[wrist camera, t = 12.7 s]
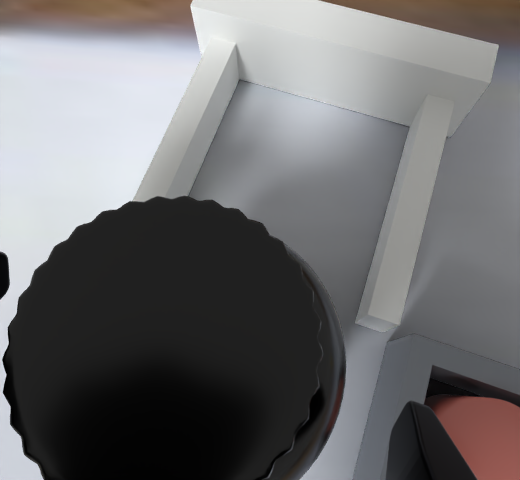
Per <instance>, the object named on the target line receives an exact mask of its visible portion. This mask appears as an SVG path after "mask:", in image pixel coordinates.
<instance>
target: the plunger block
mask: <svg viewBox="0 0 520 480" xmlns="http://www.w3.org/2000/svg"><path fill="white" fill-rule="evenodd" d="M429 378H432V379H435V380H437V381H440V382H443V383H446V384H449V385H452V386H455V387H457V388H460V389H463V390H466V391H469V392H472V393H474V394H477V395H480V396H483V397H486V398H495V399H500V400H504V401H507V402H510V403H512V404H514V405H516V406H518V407H520V369H517V368H514V367H511V366H508V365H506V364H503V363H500V362H497V361H494V360H491V359H488V358H485V357H482V356H479V355H476V354H473V353H470V352H467V351H464V350H461V349H458V348H456V347H453V346H450V345H447V344H444V343H441V342H438V341H435V340H432V339H429V338H426V337H423V336H420V335H417V334H411V335H408V336H405V337H402V338H399V339H396V340H393V341H390V342H387V345H386V349H385V353H384V357H383V361H382V365H381V369H380V372H379V376H378V380H377V384H376V388H375V392H374V396H373V400H372V404H371V408H370V412H369V416H368V420H367V424H366V428H365V432H364V436H363V440H362V444H361V448H360V452H359V456H358V459H357V463H356V467H355V471H354V475H353V479H352V480H385V478H386V468H387V459H388V449H389V440H390V434H391V431H392V428H393V426H394V424H395V422H396V420H397V419H398V417H399V415H400V413H401V411H402V410H403V408H404V406H405V404H406V403H407V402H408V401H411V400H412V401H415V402H418V403H421V404H424V401H425V397H426V392H427V388H428V383H429Z"/></svg>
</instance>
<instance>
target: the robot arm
mask: <svg viewBox="0 0 520 480" xmlns="http://www.w3.org/2000/svg"><path fill="white" fill-rule="evenodd" d="M9 285H10V279H9V263H8V257H7V255H6V254H5V253H3V252H0V299H1V298H2V297H3V296H4V295H5V294H6V292H7V291H8V288H9ZM385 480H478V479H477V478H476V476H475V475H474V473H473V472H472V470H471V468H470V467H469V465H468V464H467V462H466V461H465V459H464V458H463V456H462V455H461V453H460V452H459V450H458V448H457V447H456V445H455V444H454V442H453V441H452V439H451V438H450V436H449V435H448V433H447V431H446V430H445V428H444V427H443V425H442V424H441V422H440V421H439V419H438V418H437V416H436V414H435V413H434V411H433V410H432V409H431V408H430V407H429V406H427V405H424V404H421V403H418V402H415V401H412V400H411V401H408V402H407V403H406V404H405V406H404V408H403V410H402V411H401V413H400V415H399V417H398V419H397V420H396V422H395V424H394V426H393V428H392V431H391V434H390V440H389V449H388V459H387V468H386V478H385Z"/></svg>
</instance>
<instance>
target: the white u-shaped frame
mask: <svg viewBox="0 0 520 480" xmlns="http://www.w3.org/2000/svg"><path fill="white" fill-rule="evenodd" d="M190 6H191V11H192V15H193V20H194V25H195V29H196V34H197V39H198V43H199V48H200V53H201V60H200V62H199V64H198V66H197V68H196V70H195V73H194V75H193V77H192V79H191V81H190V83H189V85H188V87H187V89H186V91H185V93H184V95H183V97H182V99H181V102H180V104H179V106H178V108H177V110H176V112H175V114H174V116H173V118H172V120H171V122H170V124H169V126H168V128H167V131H166V133H165V135H164V137H163V139H162V141H161V143H160V145H159V147H158V149H157V151H156V153H155V155H154V157H153V160H152V162H151V164H150V166H149V168H148V170H147V172H146V174H145V176H144V178H143V180H142V182H141V184H140V186H139V189H138V191H137V193H136V195H135V197H134V199H133V201H138V202H145V201H147V200H149V199H151V198H154V197H156V196H160V197H165V198H169V199H174V198H177V197H180V196H188V195H189V193H190V191H191V188H192V186H193V184H194V181H195V179H196V177H197V175H198V172H199V170H200V168H201V166H202V163H203V161H204V159H205V156H206V154H207V152H208V150H209V147H210V145H211V143H212V141H213V138H214V136H215V134H216V132H217V129H218V127H219V125H220V122H221V120H222V118H223V116H224V113H225V111H226V109H227V107H228V104H229V102H230V100H231V97H232V95H233V93H234V91H235V88H236V86H237V84H238V82H239V79H240V80H244V81H248V82H251V83H255V84H258V85H262V86H266V87H269V88H273V89H276V90H280V91H284V92H287V93H291V94H294V95H298V96H302V97H305V98H309V99H312V100H316V101H320V102H323V103H327V104H330V105H334V106H337V107H341V108H345V109H348V110H352V111H355V112H359V113H363V114H366V115H370V116H373V117H377V118H381V119H384V120H388V121H391V122H395V123H399V124H402V125H406V126H409V127H410V128H409V131H408V135H407V138H406V142H405V146H404V149H403V153H402V156H401V160H400V163H399V167H398V171H397V174H396V178H395V181H394V185H393V189H392V192H391V196H390V199H389V203H388V206H387V210H386V214H385V217H384V221H383V224H382V228H381V231H380V235H379V239H378V242H377V246H376V249H375V253H374V256H373V260H372V264H371V267H370V271H369V274H368V278H367V281H366V285H365V289H364V292H363V296H362V299H361V303H360V306H359V310H358V314H357V317H356V321H355V323H356V324H358V325H361V326H364V327H367V328H370V329H373V330H376V331H379V332H382V333H383V332H385V331H388V330H390V329H392V328H395V327H397V326H399V325H400V322H401V318H402V314H403V310H404V306H405V302H406V298H407V294H408V290H409V286H410V282H411V277H412V273H413V269H414V265H415V261H416V257H417V253H418V249H419V245H420V241H421V237H422V233H423V229H424V225H425V221H426V217H427V213H428V209H429V205H430V201H431V197H432V192H433V188H434V184H435V180H436V176H437V172H438V168H439V164H440V160H441V156H442V152H443V148H444V144H445V140H446V137H449V138H450V137H451V136H452V135H453V133H454V132H455V131H456V129H457V128H458V127H459V125H460V124H461V123H462V121H463V120H464V118H465V117H466V116H467V114H468V113H469V112H470V110H471V109H472V108H473V106H474V105H475V104H476V102H477V101H478V100H479V98H480V97H481V95H482V94H483V93H484V91H485V90H486V89H487V87H488V86H489V85H490V83H491V79H492V75H493V70H494V65H495V61H496V56H497V52H498V47H499V45H497V44H493V43H489V42H485V41H481V40H477V39H473V38H469V37H465V36H461V35H457V34H452V33H448V32H444V31H440V30H436V29H432V28H428V27H424V26H420V25H416V24H412V23H408V22H404V21H400V20H396V19H392V18H388V17H384V16H379V15H375V14H371V13H367V12H363V11H359V10H355V9H351V8H347V7H343V6H339V5H335V4H331V3H327V2H323V1H319V0H193V2H192V3H191V5H190Z"/></svg>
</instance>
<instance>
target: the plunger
mask: <svg viewBox="0 0 520 480" xmlns="http://www.w3.org/2000/svg"><path fill="white" fill-rule="evenodd" d="M424 405H427V406H429V407H430V408H431V409H432V410H433V411H434V413H435V414H436V416H437V418H438V419H439V421H440V422H441V424H442V425H443V427H444V428H445V430H446V431H447V433H448V435H449V436H450V438H451V439H452V441H453V442H454V444H455V445H456V447H457V448H458V450H459V452H460V453H461V455H462V456H463V458H464V459H465V461H466V462H467V464H468V465H469V467H470V468H471V470H472V472H473V473H474V475H475V476H476V478H477V479H478V480H520V407H518V406H516V405H514V404H512V403H510V402H507V401H504V400H500V399H495V398H486V397H473V396H460V395H446V394H440V395H433V396H430V397H427V398H425V401H424Z"/></svg>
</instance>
